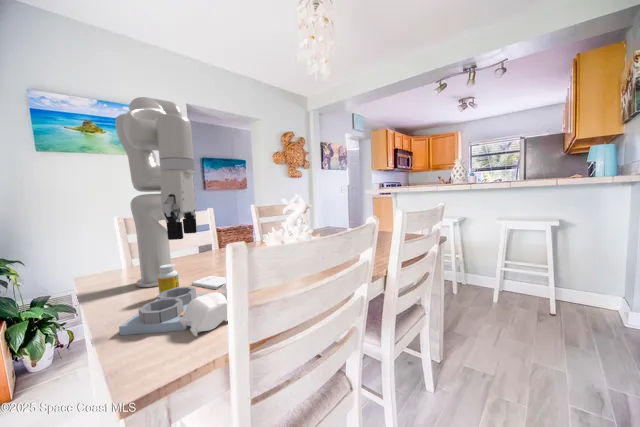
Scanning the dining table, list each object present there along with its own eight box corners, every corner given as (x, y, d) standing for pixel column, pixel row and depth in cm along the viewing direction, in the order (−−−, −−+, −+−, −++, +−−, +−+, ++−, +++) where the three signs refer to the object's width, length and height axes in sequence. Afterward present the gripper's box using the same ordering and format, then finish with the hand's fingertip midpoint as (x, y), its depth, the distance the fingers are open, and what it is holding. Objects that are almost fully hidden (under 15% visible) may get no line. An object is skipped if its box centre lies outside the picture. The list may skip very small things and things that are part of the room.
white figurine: (205, 351, 58) (257, 304, 67) (189, 324, 54) (246, 278, 64) (187, 335, 63) (237, 293, 73) (171, 310, 59) (226, 269, 69)
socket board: (160, 303, 76) (159, 288, 75) (210, 300, 77) (209, 284, 76) (119, 335, 59) (117, 315, 58) (185, 330, 60) (183, 310, 59)
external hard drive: (217, 291, 85) (191, 286, 91) (236, 283, 92) (211, 279, 98) (217, 286, 85) (191, 281, 91) (236, 278, 92) (211, 274, 98)
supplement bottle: (160, 295, 82) (157, 265, 81) (179, 291, 85) (177, 262, 84) (159, 301, 77) (156, 269, 77) (180, 297, 80) (177, 265, 79)
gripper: (175, 171, 74) (181, 232, 75) (142, 164, 56) (150, 243, 58) (204, 170, 75) (208, 230, 76) (180, 163, 57) (186, 241, 59)
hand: (183, 236), depth 67 cm, fingers open, 9 cm apart
